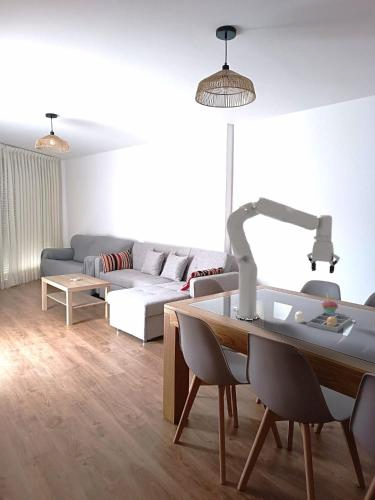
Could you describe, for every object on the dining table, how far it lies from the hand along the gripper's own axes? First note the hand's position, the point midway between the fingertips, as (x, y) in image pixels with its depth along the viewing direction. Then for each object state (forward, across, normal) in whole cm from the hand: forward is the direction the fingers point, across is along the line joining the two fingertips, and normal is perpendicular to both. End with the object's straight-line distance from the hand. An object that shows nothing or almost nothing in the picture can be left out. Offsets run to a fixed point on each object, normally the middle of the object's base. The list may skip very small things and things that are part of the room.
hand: (322, 271), depth 191 cm
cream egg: (+25, -5, -13) cm, 29 cm away
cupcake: (+26, -1, +12) cm, 29 cm away
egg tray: (+25, +7, -5) cm, 27 cm away
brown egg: (+25, +11, -12) cm, 30 cm away
